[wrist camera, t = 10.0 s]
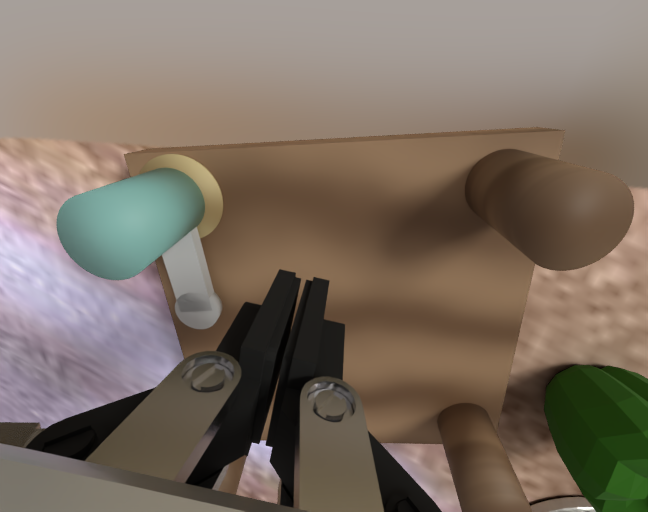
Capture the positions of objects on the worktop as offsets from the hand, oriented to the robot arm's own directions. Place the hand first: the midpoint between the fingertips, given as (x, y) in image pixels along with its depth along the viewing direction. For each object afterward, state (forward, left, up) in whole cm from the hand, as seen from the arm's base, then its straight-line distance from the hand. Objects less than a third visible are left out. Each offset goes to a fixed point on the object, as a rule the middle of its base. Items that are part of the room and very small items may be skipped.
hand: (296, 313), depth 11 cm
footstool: (-7, -1, -11) cm, 13 cm away
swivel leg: (-1, +8, -8) cm, 11 cm away
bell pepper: (-15, -19, -11) cm, 26 cm away
